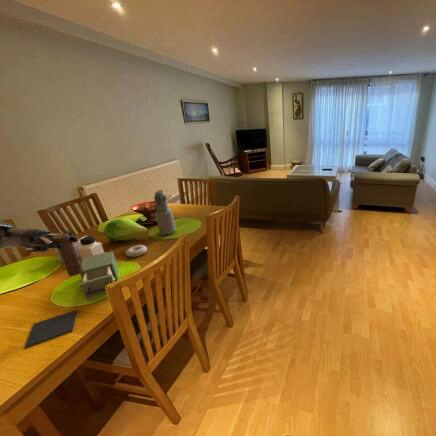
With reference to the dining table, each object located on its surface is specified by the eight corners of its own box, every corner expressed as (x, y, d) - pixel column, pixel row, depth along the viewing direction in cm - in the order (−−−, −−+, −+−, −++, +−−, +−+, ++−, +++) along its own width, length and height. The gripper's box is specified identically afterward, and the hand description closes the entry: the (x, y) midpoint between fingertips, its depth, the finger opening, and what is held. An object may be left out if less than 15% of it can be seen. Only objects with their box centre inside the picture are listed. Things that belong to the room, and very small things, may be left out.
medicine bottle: (105, 253, 134) (98, 234, 130) (94, 260, 128) (87, 240, 123) (93, 253, 135) (85, 233, 130) (81, 259, 128) (74, 240, 123)
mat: (72, 331, 85) (72, 330, 84) (25, 348, 78) (24, 347, 78) (76, 310, 94) (76, 309, 93) (34, 324, 87) (33, 323, 87)
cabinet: (118, 280, 111) (112, 263, 107) (86, 290, 105) (79, 272, 101) (118, 267, 121) (112, 250, 118) (89, 275, 115) (82, 258, 112)
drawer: (116, 296, 100) (111, 280, 97) (85, 306, 94) (78, 290, 92) (116, 276, 113) (111, 262, 110) (88, 284, 107) (82, 269, 104)
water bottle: (174, 234, 156) (165, 193, 145) (158, 236, 153) (148, 194, 143) (177, 228, 165) (169, 189, 154) (161, 230, 162) (152, 190, 152)
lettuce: (150, 234, 161) (143, 248, 149) (111, 231, 155) (100, 245, 142) (149, 215, 155) (142, 228, 142) (109, 211, 148) (97, 224, 135)
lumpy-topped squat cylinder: (87, 248, 139) (82, 235, 136) (79, 259, 128) (73, 245, 125) (65, 252, 136) (59, 238, 132) (54, 263, 124) (47, 249, 121)
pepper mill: (82, 273, 92) (67, 236, 86) (67, 277, 90) (51, 239, 84) (83, 268, 96) (69, 232, 90) (69, 271, 93) (53, 235, 87)
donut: (150, 248, 139) (131, 249, 138) (149, 243, 138) (129, 244, 136) (143, 257, 130) (123, 259, 129) (142, 251, 129) (121, 253, 127)
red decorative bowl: (172, 211, 196) (168, 192, 190) (178, 220, 177) (174, 200, 171) (132, 219, 181) (126, 199, 175) (135, 230, 163) (128, 207, 156)
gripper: (3, 238, 82) (43, 242, 80) (49, 222, 95) (85, 225, 93) (13, 257, 85) (52, 261, 82) (56, 239, 98) (91, 242, 95)
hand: (69, 242), depth 87 cm, fingers closed on pepper mill, 4 cm apart
